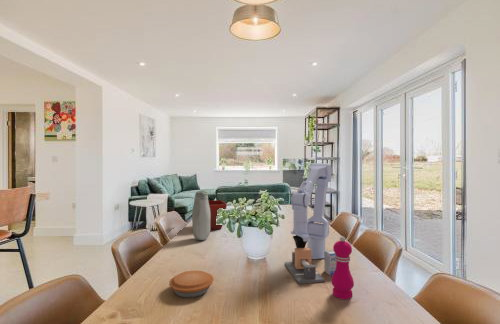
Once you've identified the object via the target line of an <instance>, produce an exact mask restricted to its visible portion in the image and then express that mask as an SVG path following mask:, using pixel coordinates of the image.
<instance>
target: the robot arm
mask: <svg viewBox="0 0 500 324" xmlns="http://www.w3.org/2000/svg"><path fill="white" fill-rule="evenodd" d="M332 172H333V169H332V164H330V163H329V162H328V163H323V162H322V163H313V162H311V163H310V164H308V175H307V178H306V180H303V181H302V183H301V184H300V185H299V187H298V189H297V190H296V191H295V192H293V193H292V194H291V197H290V204H291V209H292V210H293V227H292V231H290V235H293V236H292V239H293V240H294V243H295V247H296V248H306V245H307V248H308V247H309V248H310V249H311V260H318V259H319V260H321V259H324V251H326V239H327V238H328V237H329V235H330V222H329V220H328V219H326V218H325V208H326V198H327V190H328V189H327V188H328V183H330V182H331V181H332V180H331V179H332V176H333V175H332V174H333V173H332ZM315 183H316V188H315V185H314V184H315ZM315 189H316V190H315ZM314 190H315V197H314V198H315V199H314V207H313V214H312V216H311V217H309V218H308V207H309V205H310V203H311V195H312V194H313V191H314Z"/></svg>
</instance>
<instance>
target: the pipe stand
mask: <svg viewBox="0 0 500 324" xmlns="http://www.w3.org/2000/svg"><path fill="white" fill-rule="evenodd" d="M291 259H292V261H284V265H285V267H286V268H287V269H288V271H289V272H290V273H291V275H292V276H293V278H294V279H295V280H296V282H297V283H298V284H299V285H301V284H311V283H313V284H314V283H324V282H325V278H324V277H323V276H322V275H321V274H320V273H319V271H317V268H316V267H317V266H316V265H315V264H311V265H309V263H308V262H307V261H306V260H305V259H301V264H303V266H304V269H296V267H295V251H293V252H292V251H291Z"/></svg>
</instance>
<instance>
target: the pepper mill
mask: <svg viewBox="0 0 500 324" xmlns="http://www.w3.org/2000/svg"><path fill="white" fill-rule="evenodd" d="M332 250H334V252H335V253H336V254H335V260H336V269H335V272H334V274H333V275H331V285H332V286H333V289H332V294H333V296H334V297H335V298H337V299H340V300H350V299H352V297H353V288H354V286H355V285H354V284H355V283H354V278H353V276H352V273H351V270H350V262H351V256H350V255H352V252H353V248H352V245H351V244H350V243H349V242H348V241H346V238H345V236H340V237H339V240H338V241H335V243H334V244H333V249H332Z"/></svg>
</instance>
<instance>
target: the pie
mask: <svg viewBox="0 0 500 324" xmlns="http://www.w3.org/2000/svg"><path fill="white" fill-rule="evenodd" d="M213 282H214V277H213V275H212V273H208V272H207V271H202V270H188V271H187V270H186V271H183V272H181V273H178V274H176V275H175V276H174V277H172V278H171V279H169V285H168V286H170V288H171V289H172V290H173V291H174V293H175V294H176V296H178V297H181V298H184V297H186V298H185V299H187V298H188V299H190V297H192V298H196V297H197V296H198V297H200V296H202V294H203V295H204V294H206V293H207V291H208V290H209V289H210V286H211V285H212V284H213Z"/></svg>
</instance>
